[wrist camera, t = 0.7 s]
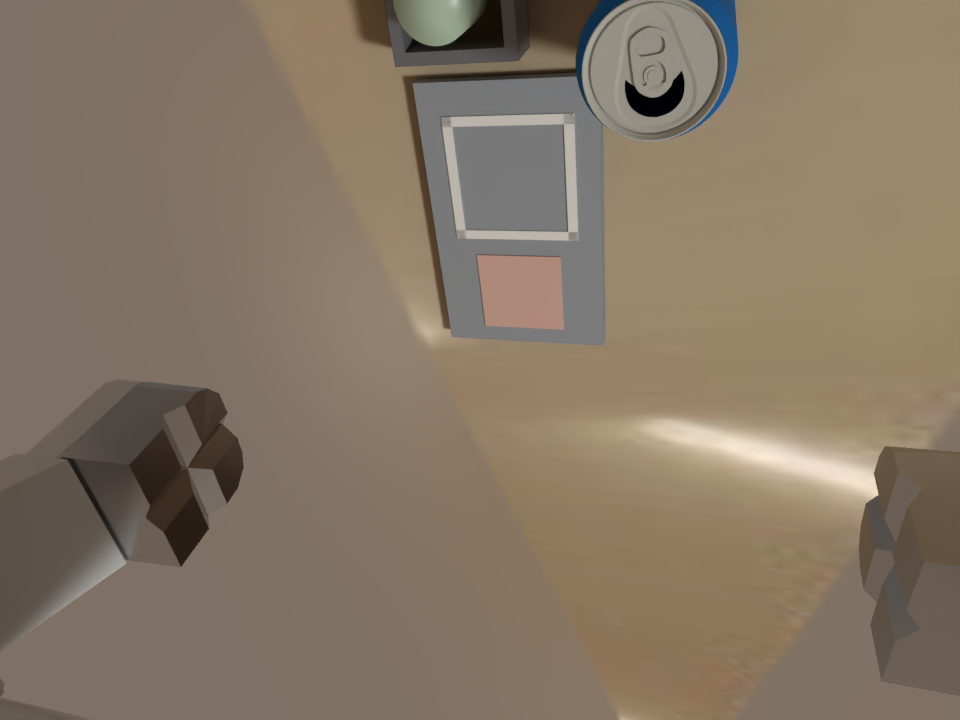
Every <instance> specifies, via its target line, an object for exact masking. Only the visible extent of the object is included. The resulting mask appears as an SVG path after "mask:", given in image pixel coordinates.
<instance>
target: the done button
mask: <svg viewBox="0 0 960 720" xmlns="http://www.w3.org/2000/svg"><path fill="white" fill-rule="evenodd" d="M393 3H394V9H395V13H396V16H397V18H398V20H399V22H400V24H401V26H402V27H403V29H404V30H405V31H406V32H407V33H408V34H409V35H410V36H411V37H412V38H413V39H415V40H416V41H418V42H420V43H422V44H425V45H429V46H443V45H446V44H449V43H451V42H453V41H454V40H456V39H457V38H458V37H459V36H460V35H462V34H463V33H464V32H465V31H466V30H467V29H469V28H470V27H471V26H472V25H473V24H474V23H476V22H477V21H478V20H479V19H480V17H481V16H482V14H483V13H484V11H485V9H486V6H487V3H488V0H393Z"/></svg>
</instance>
